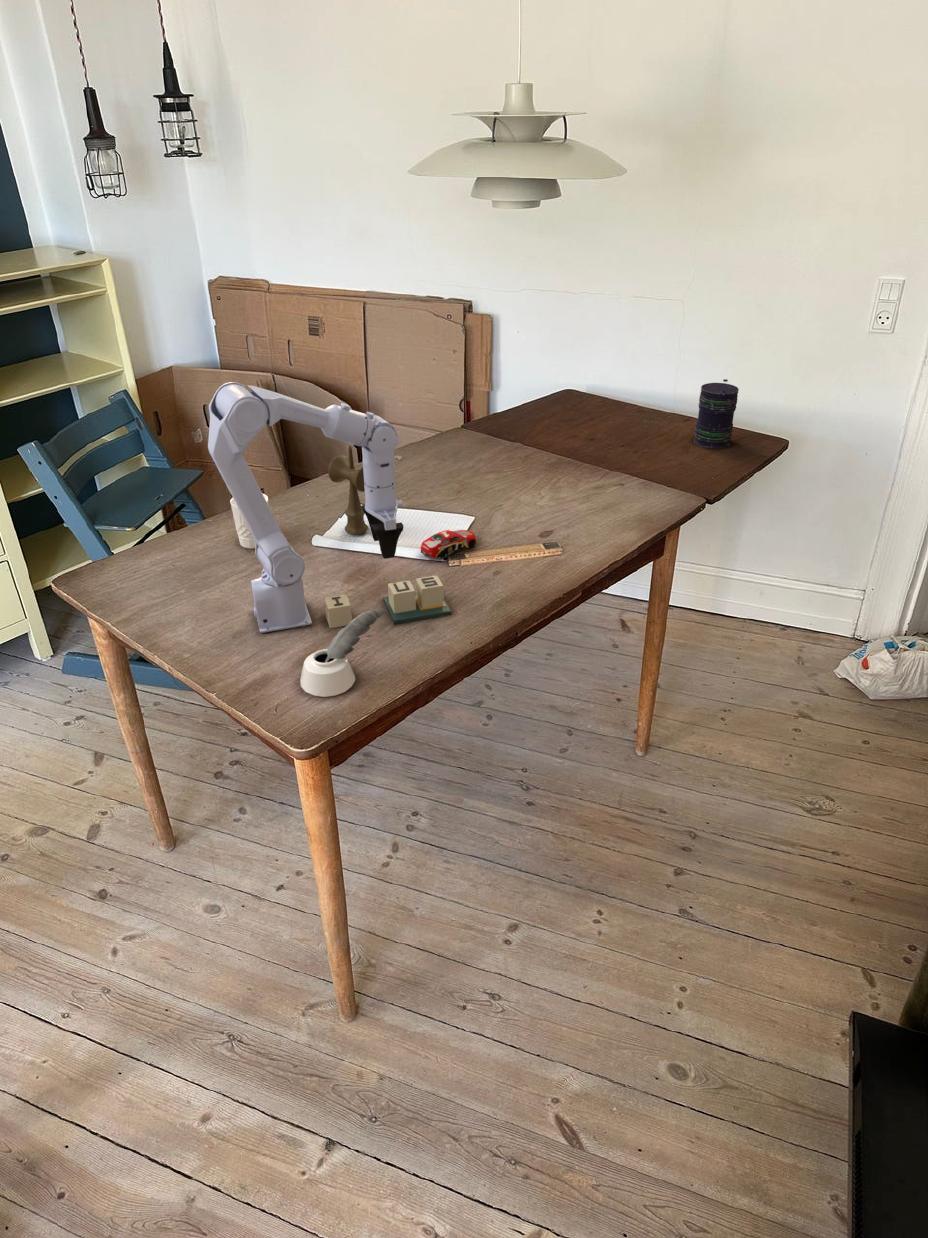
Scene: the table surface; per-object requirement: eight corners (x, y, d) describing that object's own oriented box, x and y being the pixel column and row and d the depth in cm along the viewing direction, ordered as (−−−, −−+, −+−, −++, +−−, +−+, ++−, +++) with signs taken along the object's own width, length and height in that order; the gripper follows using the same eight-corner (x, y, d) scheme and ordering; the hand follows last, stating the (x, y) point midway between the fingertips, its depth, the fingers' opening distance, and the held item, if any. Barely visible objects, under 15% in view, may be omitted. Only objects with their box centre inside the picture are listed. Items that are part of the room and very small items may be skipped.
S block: (422, 608, 166) (421, 588, 164) (416, 597, 170) (415, 577, 167) (443, 604, 167) (443, 584, 165) (437, 594, 171) (436, 574, 168)
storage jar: (688, 436, 246) (697, 371, 236) (722, 434, 246) (732, 370, 237) (700, 449, 237) (710, 383, 228) (736, 447, 238) (746, 381, 228)
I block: (330, 628, 162) (327, 608, 160) (325, 617, 165) (323, 597, 163) (352, 624, 163) (350, 604, 161) (347, 613, 167) (346, 593, 164)
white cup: (229, 546, 190) (222, 504, 185) (249, 531, 196) (243, 490, 191) (261, 552, 188) (255, 509, 183) (280, 536, 194) (275, 494, 189)
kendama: (352, 520, 201) (345, 436, 190) (381, 533, 195) (375, 447, 185) (332, 529, 197) (324, 443, 187) (360, 542, 192) (354, 455, 181)
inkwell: (289, 681, 148) (282, 631, 143) (371, 639, 159) (368, 591, 154) (322, 705, 142) (316, 653, 137) (405, 659, 153) (403, 610, 148)
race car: (466, 536, 194) (466, 519, 192) (481, 545, 190) (481, 528, 188) (416, 553, 187) (416, 536, 185) (431, 562, 183) (430, 545, 181)
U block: (394, 613, 165) (393, 593, 162) (389, 602, 168) (387, 582, 166) (416, 610, 166) (415, 590, 164) (410, 599, 169) (409, 579, 167)
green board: (394, 624, 163) (394, 620, 163) (383, 600, 170) (383, 596, 170) (451, 614, 166) (451, 610, 165) (437, 591, 173) (437, 587, 173)
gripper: (411, 494, 157) (414, 562, 164) (391, 465, 168) (394, 529, 176) (372, 499, 155) (376, 568, 162) (355, 469, 167) (360, 534, 174)
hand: (383, 548), depth 169 cm, fingers open, 7 cm apart
